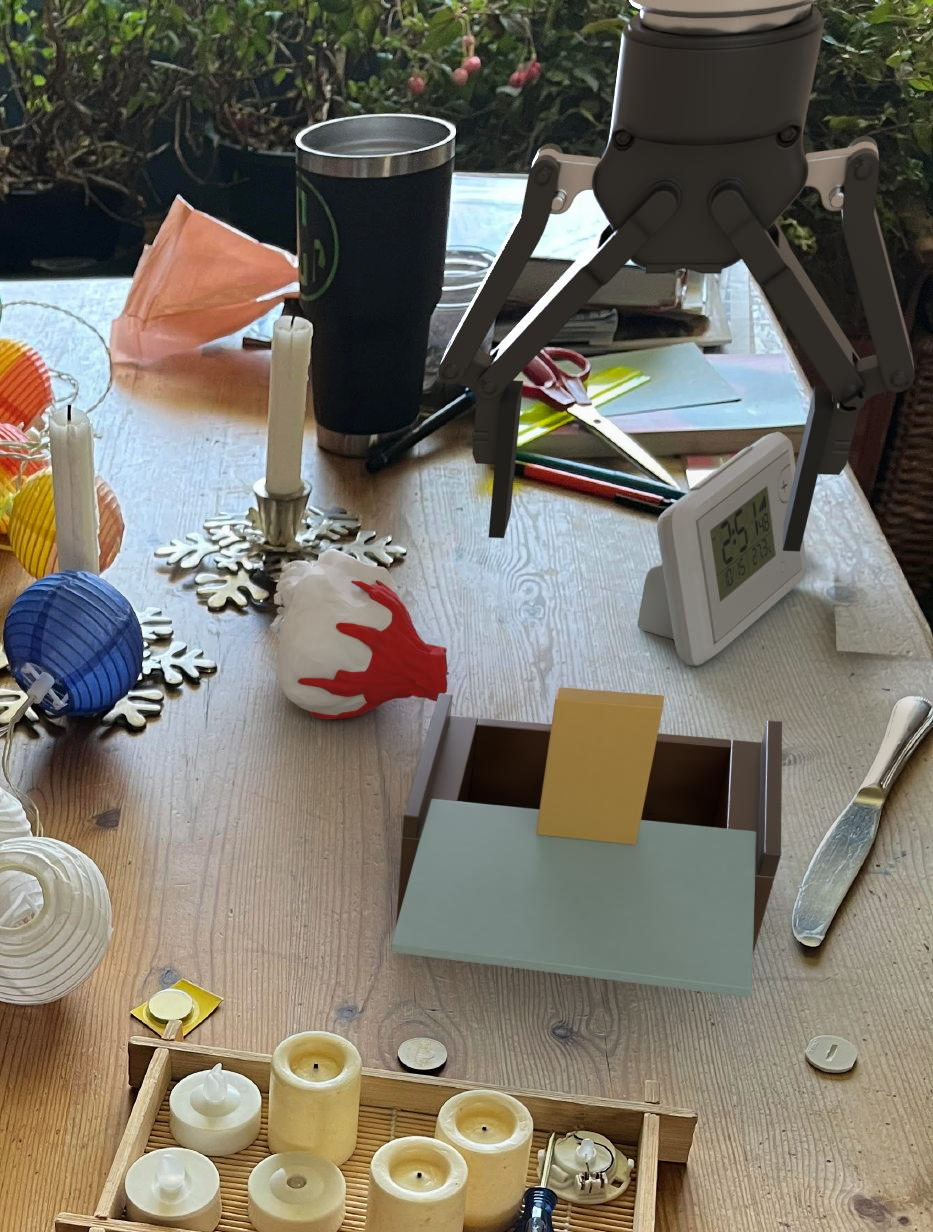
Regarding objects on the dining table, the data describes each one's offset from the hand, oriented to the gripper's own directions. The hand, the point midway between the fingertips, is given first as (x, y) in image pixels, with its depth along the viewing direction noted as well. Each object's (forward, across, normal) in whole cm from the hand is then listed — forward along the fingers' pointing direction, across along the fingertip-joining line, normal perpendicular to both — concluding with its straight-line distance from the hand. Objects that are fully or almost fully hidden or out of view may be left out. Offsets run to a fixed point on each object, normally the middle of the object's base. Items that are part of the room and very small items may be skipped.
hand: (641, 532), depth 76 cm
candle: (+22, +18, -19) cm, 34 cm away
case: (+22, 0, +1) cm, 22 cm away
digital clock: (+22, -6, -34) cm, 41 cm away
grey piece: (+14, 0, +11) cm, 18 cm away
